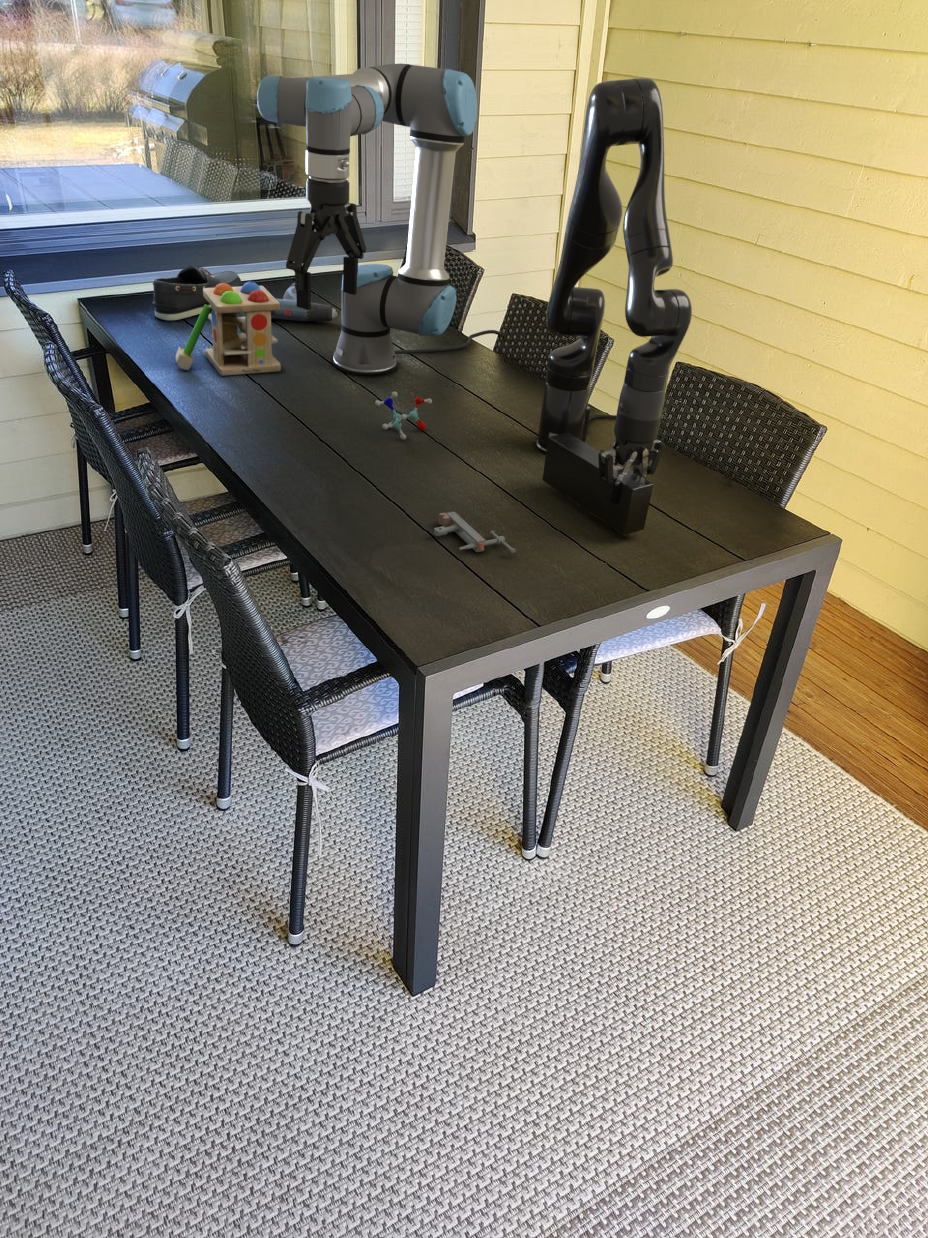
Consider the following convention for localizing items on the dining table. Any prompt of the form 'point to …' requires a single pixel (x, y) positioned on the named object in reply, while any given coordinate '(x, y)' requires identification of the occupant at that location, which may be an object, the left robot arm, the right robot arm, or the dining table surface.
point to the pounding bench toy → (229, 347)
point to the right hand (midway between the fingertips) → (622, 499)
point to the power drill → (301, 309)
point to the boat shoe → (187, 291)
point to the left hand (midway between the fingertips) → (327, 300)
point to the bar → (595, 484)
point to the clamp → (466, 533)
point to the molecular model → (399, 418)
